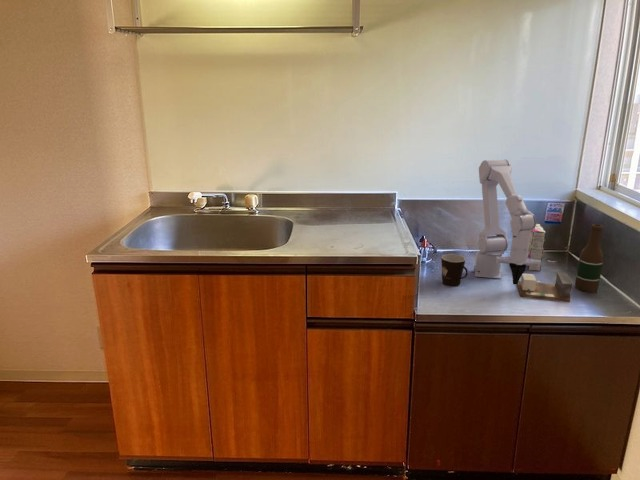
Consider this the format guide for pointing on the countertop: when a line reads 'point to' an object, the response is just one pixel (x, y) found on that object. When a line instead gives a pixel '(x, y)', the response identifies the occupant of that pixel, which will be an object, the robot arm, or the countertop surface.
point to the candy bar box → (536, 246)
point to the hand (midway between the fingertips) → (515, 283)
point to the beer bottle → (590, 262)
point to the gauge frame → (550, 290)
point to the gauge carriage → (529, 282)
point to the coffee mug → (452, 269)
